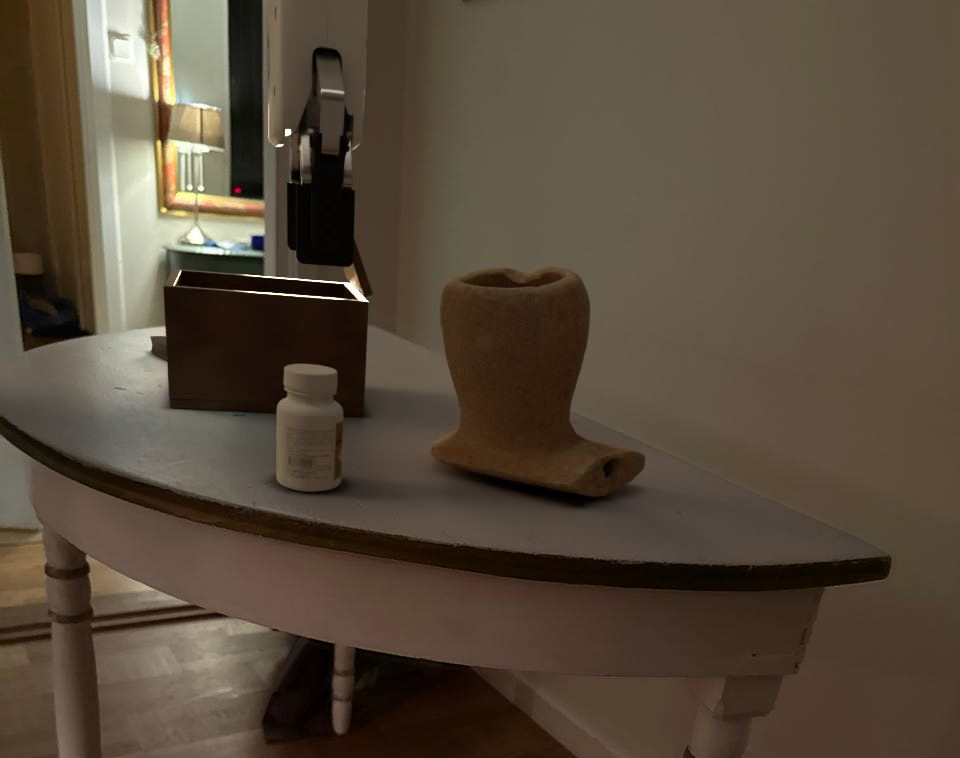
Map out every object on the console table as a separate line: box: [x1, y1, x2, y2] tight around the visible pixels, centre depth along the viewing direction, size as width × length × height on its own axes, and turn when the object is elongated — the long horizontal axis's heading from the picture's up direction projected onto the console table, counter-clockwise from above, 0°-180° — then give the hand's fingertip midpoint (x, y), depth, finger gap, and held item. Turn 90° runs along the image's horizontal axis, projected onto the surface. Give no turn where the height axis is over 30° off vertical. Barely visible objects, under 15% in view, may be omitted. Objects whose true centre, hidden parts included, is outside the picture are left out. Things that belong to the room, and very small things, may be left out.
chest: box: [162, 268, 370, 417], centre depth 83 cm, size 17×14×10 cm
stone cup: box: [430, 266, 646, 498], centre depth 65 cm, size 15×12×15 cm
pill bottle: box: [275, 364, 344, 493], centre depth 61 cm, size 4×4×8 cm
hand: (317, 257), depth 56 cm, fingers open, 9 cm apart
